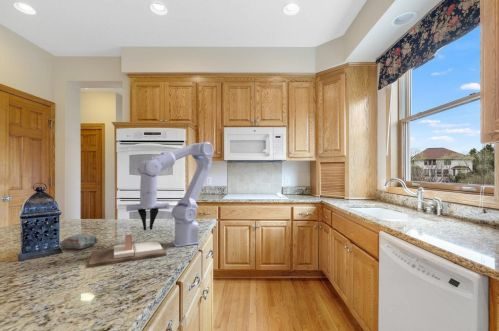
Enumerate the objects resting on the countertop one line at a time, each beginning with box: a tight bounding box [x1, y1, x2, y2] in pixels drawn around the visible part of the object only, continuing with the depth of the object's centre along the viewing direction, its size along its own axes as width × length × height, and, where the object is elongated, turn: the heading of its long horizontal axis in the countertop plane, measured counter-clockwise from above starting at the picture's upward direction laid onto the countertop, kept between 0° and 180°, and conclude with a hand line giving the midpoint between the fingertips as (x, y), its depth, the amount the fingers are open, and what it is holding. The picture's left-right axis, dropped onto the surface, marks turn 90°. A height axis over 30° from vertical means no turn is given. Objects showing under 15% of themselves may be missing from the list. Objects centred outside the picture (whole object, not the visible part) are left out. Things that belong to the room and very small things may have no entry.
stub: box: [113, 234, 134, 258], centre depth 86 cm, size 6×11×5 cm, turn 29°
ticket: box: [132, 240, 164, 256], centre depth 90 cm, size 9×11×1 cm
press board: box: [88, 242, 167, 268], centre depth 87 cm, size 23×14×1 cm, turn 119°
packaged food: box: [59, 233, 100, 250], centre depth 94 cm, size 9×12×5 cm
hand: (147, 229), depth 90 cm, fingers closed
